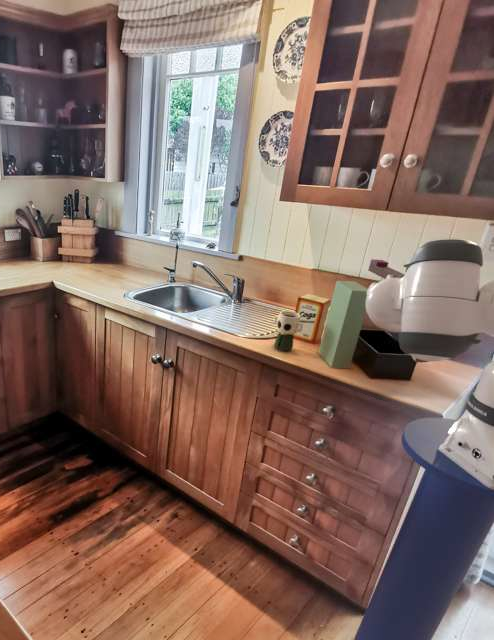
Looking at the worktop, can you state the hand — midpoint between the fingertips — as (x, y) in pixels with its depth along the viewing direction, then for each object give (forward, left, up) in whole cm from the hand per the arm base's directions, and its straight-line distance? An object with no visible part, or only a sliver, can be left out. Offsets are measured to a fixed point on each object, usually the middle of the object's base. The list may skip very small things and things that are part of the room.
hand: (397, 276), depth 137 cm
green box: (+8, +8, -32) cm, 34 cm away
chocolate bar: (+5, 0, -2) cm, 6 cm away
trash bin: (+6, -5, -32) cm, 33 cm away
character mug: (+16, +23, -32) cm, 42 cm away
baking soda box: (+28, +11, -32) cm, 44 cm away
